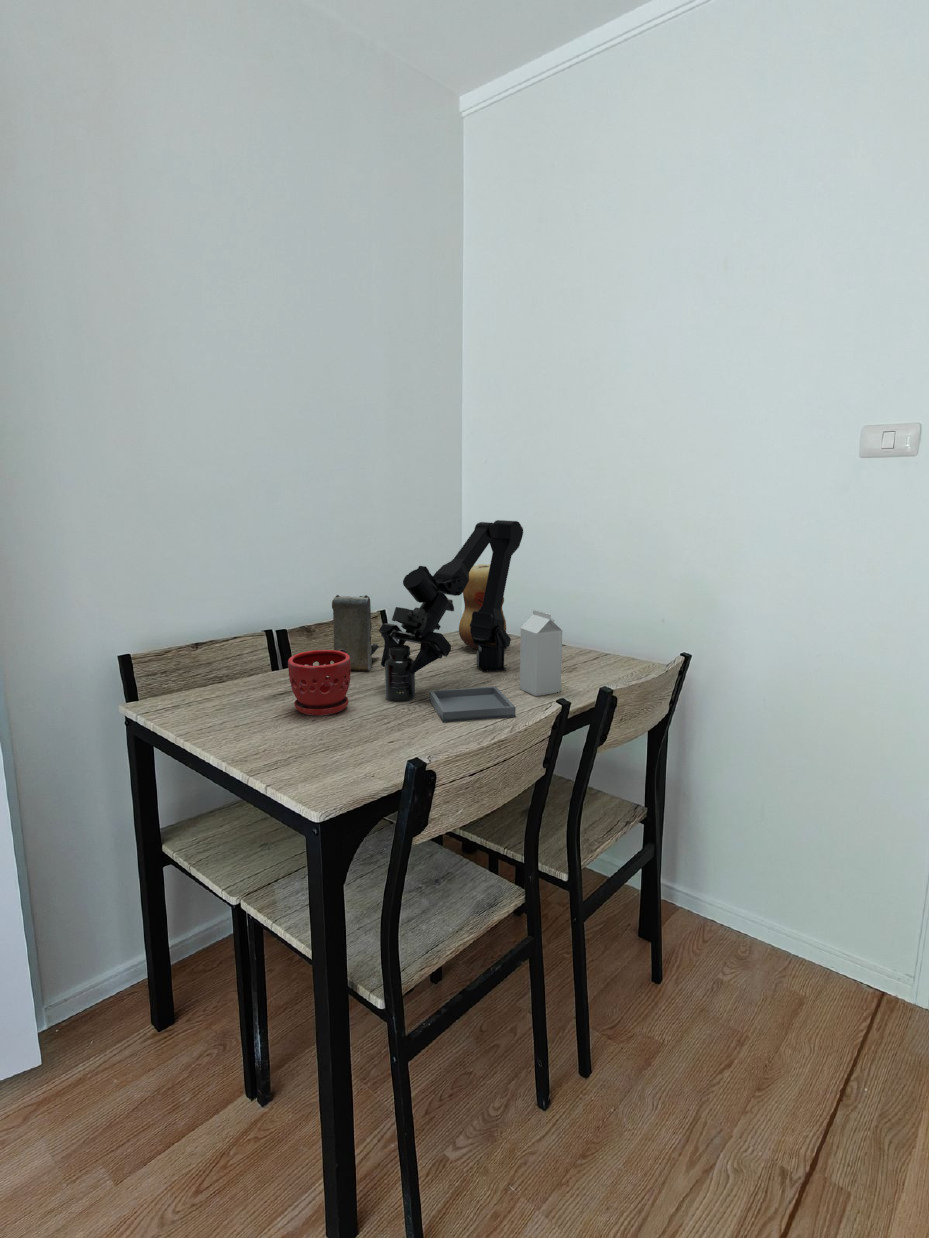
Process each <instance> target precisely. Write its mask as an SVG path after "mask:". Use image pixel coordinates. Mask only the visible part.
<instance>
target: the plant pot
mask: <svg viewBox="0 0 929 1238" xmlns="http://www.w3.org/2000/svg"><path fill="white" fill-rule="evenodd" d="M315 662H317V663H318V665H314V663H315ZM331 662H332V663H331ZM287 667H288V668H287V669H288V679H289V682H290V683H289V684H290V687H291V690H292V692H293V695H294V697H295V698H296V699H295V700H294V703H293V704H294V708H295V709H296V710H297V711H298V712H299V713H301V714H303V715H309V716H317V717H320V716H321V717H322V716H329V715H332V714H337V713H340V712H341V711H343V710H344V709H345V708H346V707H347V706H348V705H349V701H350V699H349V698H348V696H346V695H347V693H348V691H349V688H350V682H351V673H352V671H351V665H350V656H349V655H348V654H347V653H344V652H341V651H336V650H334V649H317V650H314V649H313V650H307V651H303V652H299V653H296V654H294V655H292V656H290V657H289V658H288V660H287Z"/></svg>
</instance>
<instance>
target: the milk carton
mask: <svg viewBox="0 0 929 1238" xmlns="http://www.w3.org/2000/svg"><path fill="white" fill-rule="evenodd" d="M519 639H520V640H519V641H520V644H519V645H520V646H519V647H520V648H519V650H520V651H519V653H520V655H519V689H520V690H521V691H524V692H526V693H528V694H530V695H532V696H534V697H538V696H545V695H552V694H557V692H558V693H561V692H560V691H562V661H563V657H562V656H563V629H562V628H560V626H558V625H557V624H556V623H555V619H554V618H553V617H552V616H551V614H550V613H546V612H542V611H539V610H536V609H533V610H532V615H531V616H530V617H529V618H528V619H527V620H526V621H525V622H524V623H523V624H522V625H521V627H520V638H519Z"/></svg>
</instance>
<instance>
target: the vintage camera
mask: <svg viewBox="0 0 929 1238" xmlns="http://www.w3.org/2000/svg"><path fill="white" fill-rule="evenodd" d="M371 607H372V606H371V598H370V596H368V595H367V594H365V595H364V596H363V595H359V596H350V595H349V596H348V595H339V594H337V595H336V596H334V597H333V599H332V602H331V609H332V618H333V619H332V624H333V650H336V651H341V652H344V653H347V654H348V655H349V656H350V665H351V672H352V671H353V672H355V671H359V672H361V671H363V672H368V671H371V670H372V656H373V654H375V653H376V651H377V650H378V649H379V648H380V645H378V643H375V642H373V644H372V635H371V634H372V621H371V620H372V611H371V610H372V609H371Z"/></svg>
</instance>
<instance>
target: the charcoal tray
mask: <svg viewBox="0 0 929 1238" xmlns="http://www.w3.org/2000/svg"><path fill="white" fill-rule="evenodd" d="M428 693H429V698H428V699H429V701H430V703H431V705H432V706H433V708H434V710H435V712H436V713H437V715H438V716H439V719H440V720H441V722H442V723H453V722H454V723H455V722H464V721H465V722H467V721H478V720H479V721H480V720H492V719H493V720H494V719H505V718H506V719H507V718H515V717H516V708H517V707H516V706H515V705H514V703H513V702H511V701H510V700H509V698H508V697H507V696H506V695H505V694H504V693H503V692H502V691H501V690H500V688H498V687H497V686H496V685H494V686H481V687H465V688H463V687H462V688H448V689H446V688H445V689H433V690H429V692H428Z"/></svg>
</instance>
